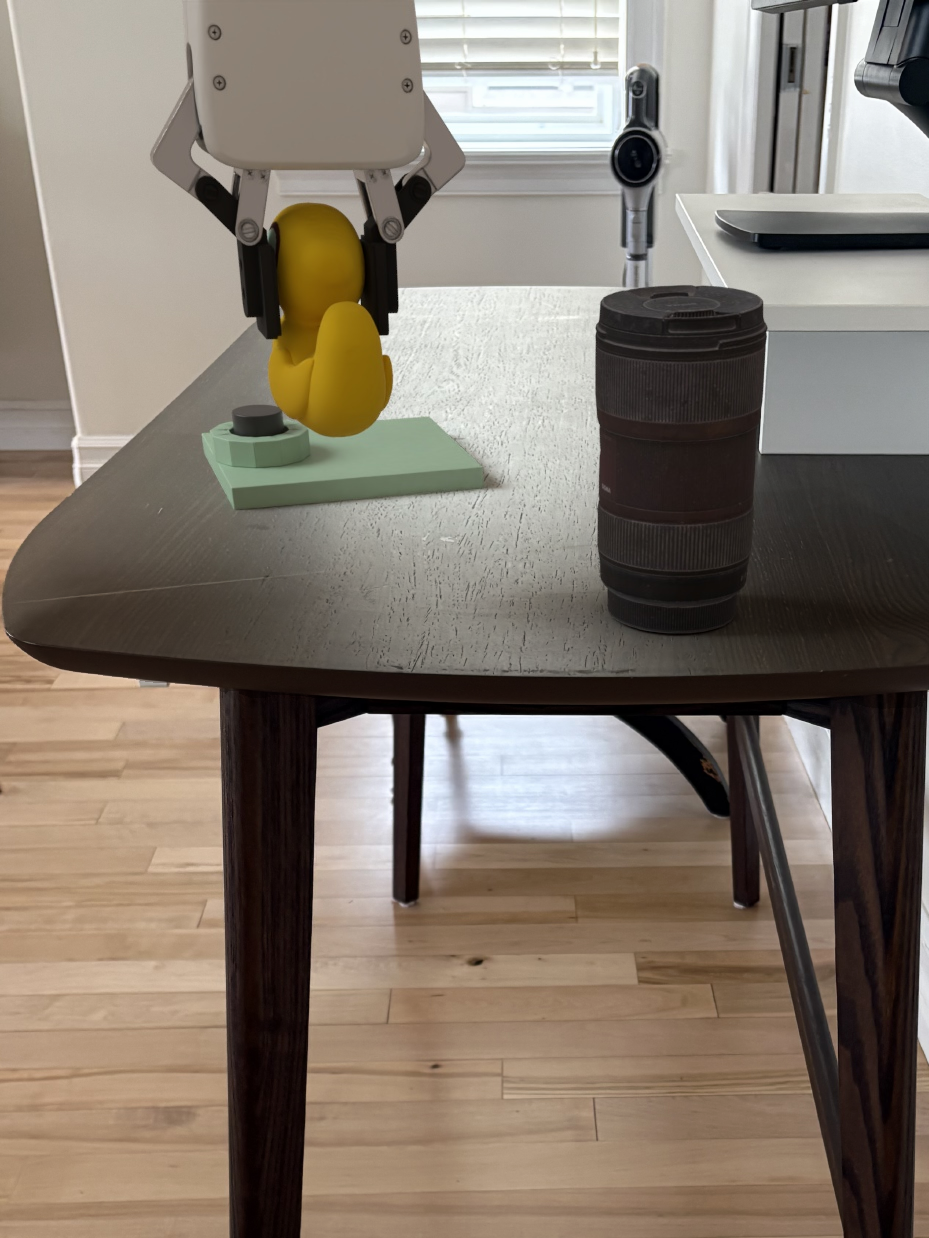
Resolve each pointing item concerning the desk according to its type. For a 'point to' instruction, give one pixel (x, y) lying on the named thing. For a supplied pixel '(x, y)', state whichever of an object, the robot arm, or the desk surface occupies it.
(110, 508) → the desk surface
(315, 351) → the duckling
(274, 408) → the button
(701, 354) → the camera lens
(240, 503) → the scale
